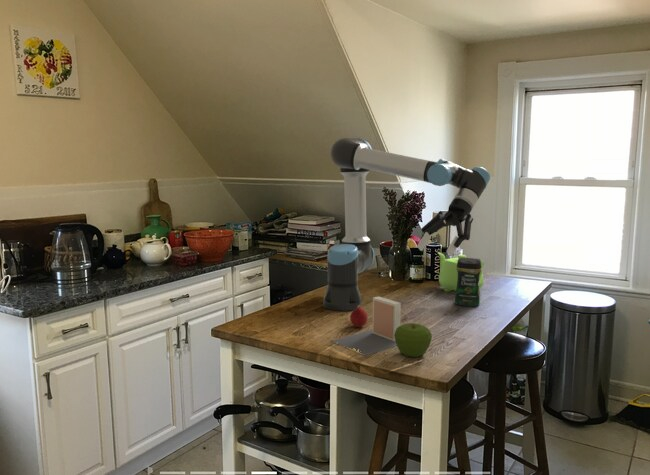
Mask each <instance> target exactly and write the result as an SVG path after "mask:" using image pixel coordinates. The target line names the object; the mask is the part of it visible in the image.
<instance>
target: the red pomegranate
mask: <svg viewBox="0 0 650 475" xmlns="http://www.w3.org/2000/svg"><path fill="white" fill-rule="evenodd" d="M349 319H350V322H351V324H352V325H353V326H354V327H355V328H362V327H363V326H364V325H366V324H367V322H368V313H367V312H366V311H365V310H364V309H363V308H362V306H360V305H359V306H358V307H357V308H356V309H355V310H352V311H351V313H350V318H349Z"/></svg>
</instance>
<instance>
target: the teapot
mask: <svg viewBox="0 0 650 475" xmlns="http://www.w3.org/2000/svg"><path fill="white" fill-rule="evenodd" d="M437 254H438V256H439V258H440V264H439V265H440V266H439V268H440V271H439V277H438V282H439V285H440V286H441V287H443V288H444V289H443V292H449V293H450V292H452V291H455V292H456V288H457V280H458V272H457V269H456V267H457V262H458V259H459V258H467V255H465V254H458V255H457V257H451V258H446V256H445V255H444V254H443V253H442V252H439V251H438V252H437ZM484 265H485V262H484V261H482V260H481V267H482V268H483V267H484ZM483 285H484V274H483V269H482V270H481V273H480V278H479V290H481V289H482V287H483Z"/></svg>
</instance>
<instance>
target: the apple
mask: <svg viewBox="0 0 650 475" xmlns="http://www.w3.org/2000/svg"><path fill="white" fill-rule="evenodd" d="M394 336H395V341H396V344H397V346H396V347H397V348H398V351H399V352H400V353H401V354H403V355H404V356H406V357H409V358H418V357H421V356H423V355H425V354H426V353H427V350H428V349H429V347H430V345H431V342H432V338H433V335H432V332H431V330H430V328H428V327H427V326H425V325H423V324H419V323H414V322H413V323H412V322H409V323H404V324H400V326H399V327H398V328H397V329H396V331H395V335H394Z"/></svg>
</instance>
